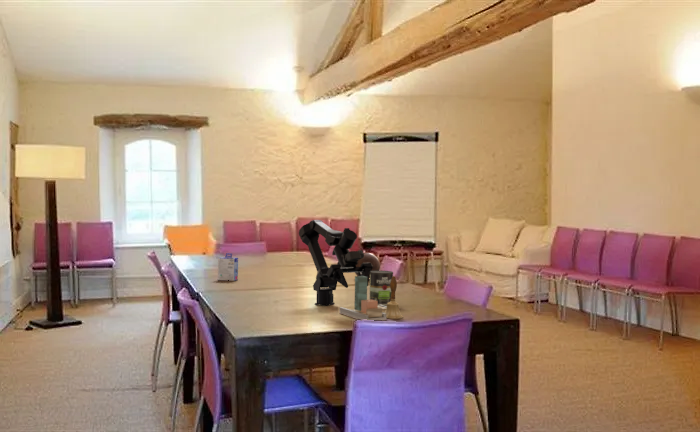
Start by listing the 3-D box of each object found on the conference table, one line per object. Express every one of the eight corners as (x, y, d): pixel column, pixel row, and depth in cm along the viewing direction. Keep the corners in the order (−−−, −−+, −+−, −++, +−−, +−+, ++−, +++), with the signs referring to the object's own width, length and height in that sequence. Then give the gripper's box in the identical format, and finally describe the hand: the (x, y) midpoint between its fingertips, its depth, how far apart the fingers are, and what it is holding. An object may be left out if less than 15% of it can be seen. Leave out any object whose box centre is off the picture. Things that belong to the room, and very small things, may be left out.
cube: (361, 311, 261) (361, 300, 261) (371, 310, 263) (371, 299, 263) (367, 313, 257) (367, 301, 257) (377, 312, 259) (377, 301, 259)
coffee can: (395, 305, 293) (396, 272, 292) (373, 306, 290) (373, 273, 289) (388, 301, 303) (388, 270, 302) (366, 302, 300) (366, 270, 299)
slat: (351, 312, 266) (351, 276, 265) (365, 311, 269) (365, 275, 269) (367, 317, 255) (368, 280, 255) (382, 316, 258) (382, 279, 258)
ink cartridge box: (238, 279, 370) (238, 253, 369) (234, 281, 364) (234, 254, 364) (221, 279, 372) (221, 252, 372) (217, 280, 367) (217, 253, 366)
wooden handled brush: (401, 315, 269) (402, 275, 269) (404, 319, 261) (404, 277, 260) (381, 315, 269) (381, 274, 268) (382, 318, 261) (383, 277, 260)
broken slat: (365, 309, 275) (365, 306, 275) (378, 308, 278) (378, 305, 278) (375, 312, 268) (375, 309, 268) (388, 311, 272) (388, 308, 272)
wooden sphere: (382, 281, 373) (382, 253, 372) (355, 281, 371) (355, 253, 370) (377, 277, 388) (377, 251, 387) (351, 277, 386) (351, 251, 385)
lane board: (339, 313, 271) (339, 307, 271) (379, 309, 281) (379, 303, 281) (366, 322, 254) (366, 315, 254) (407, 317, 263) (407, 311, 263)
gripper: (330, 244, 267) (344, 274, 258) (370, 242, 277) (385, 272, 267) (321, 262, 274) (334, 292, 265) (360, 260, 284) (374, 290, 274)
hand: (357, 286), depth 268 cm, fingers open, 9 cm apart
